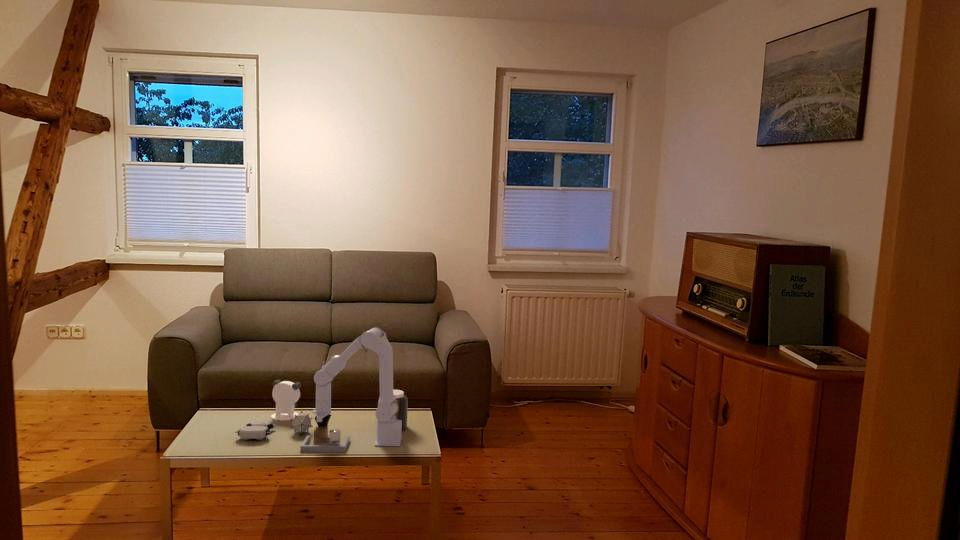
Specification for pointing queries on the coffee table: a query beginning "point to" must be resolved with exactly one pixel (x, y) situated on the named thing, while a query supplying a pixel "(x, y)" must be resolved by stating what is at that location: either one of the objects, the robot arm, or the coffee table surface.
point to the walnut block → (320, 434)
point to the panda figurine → (285, 399)
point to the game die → (301, 422)
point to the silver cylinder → (334, 437)
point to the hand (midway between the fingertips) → (322, 434)
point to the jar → (401, 407)
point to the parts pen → (323, 446)
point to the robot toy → (255, 431)
